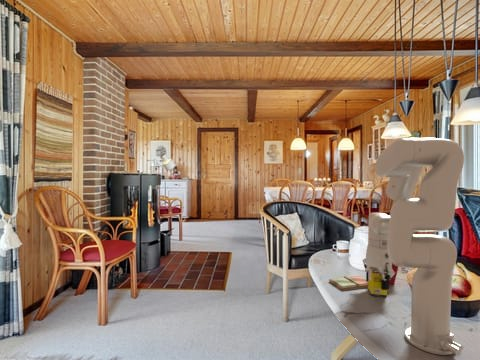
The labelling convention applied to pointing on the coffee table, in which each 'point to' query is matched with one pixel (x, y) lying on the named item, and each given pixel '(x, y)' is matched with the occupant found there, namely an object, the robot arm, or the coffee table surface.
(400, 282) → the coffee table surface
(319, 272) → the coffee table surface
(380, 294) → the supplement box
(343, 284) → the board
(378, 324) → the coffee table surface
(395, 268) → the plastic cup
